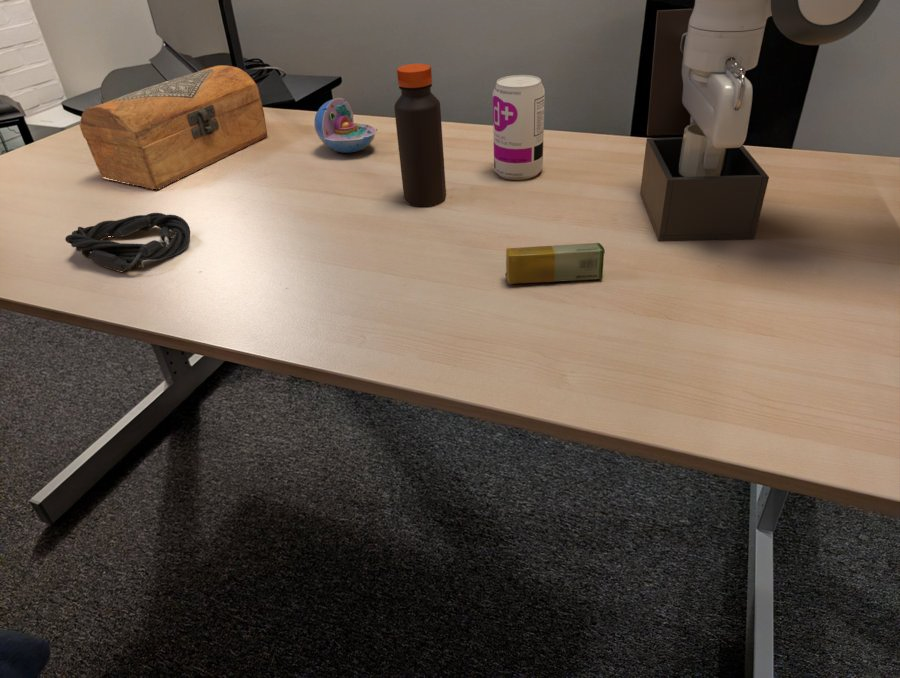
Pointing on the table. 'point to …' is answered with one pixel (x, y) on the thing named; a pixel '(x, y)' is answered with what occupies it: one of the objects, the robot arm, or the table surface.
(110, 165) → the wooden box
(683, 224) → the open topped square crate
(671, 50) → the dark brown box lid
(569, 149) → the table surface
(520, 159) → the supplement can
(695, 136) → the creamer cup
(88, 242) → the cable
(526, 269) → the medication box
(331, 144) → the cell model
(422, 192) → the bottle
